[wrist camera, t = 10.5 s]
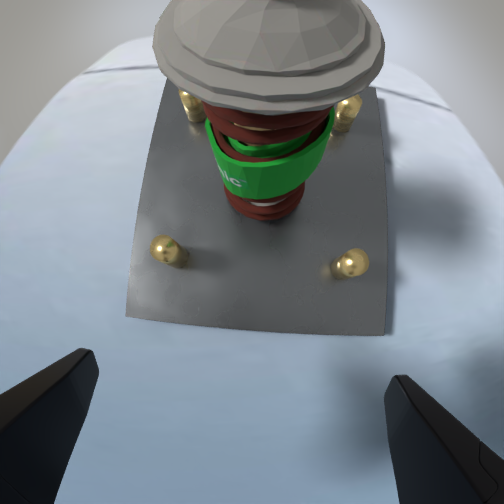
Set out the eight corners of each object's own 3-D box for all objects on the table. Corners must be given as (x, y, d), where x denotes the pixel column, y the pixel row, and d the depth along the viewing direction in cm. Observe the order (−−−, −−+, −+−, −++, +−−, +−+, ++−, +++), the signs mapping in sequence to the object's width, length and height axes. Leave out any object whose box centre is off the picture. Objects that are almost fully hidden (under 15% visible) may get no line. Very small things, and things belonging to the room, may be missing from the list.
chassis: (377, 334, 19) (404, 340, 15) (132, 315, 20) (104, 317, 16) (371, 96, 22) (387, 64, 18) (171, 83, 23) (158, 49, 19)
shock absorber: (198, 165, 20) (115, -36, 5) (286, 129, 20) (313, -79, 6) (238, 254, 19) (177, 100, 4) (332, 211, 19) (459, 32, 5)
